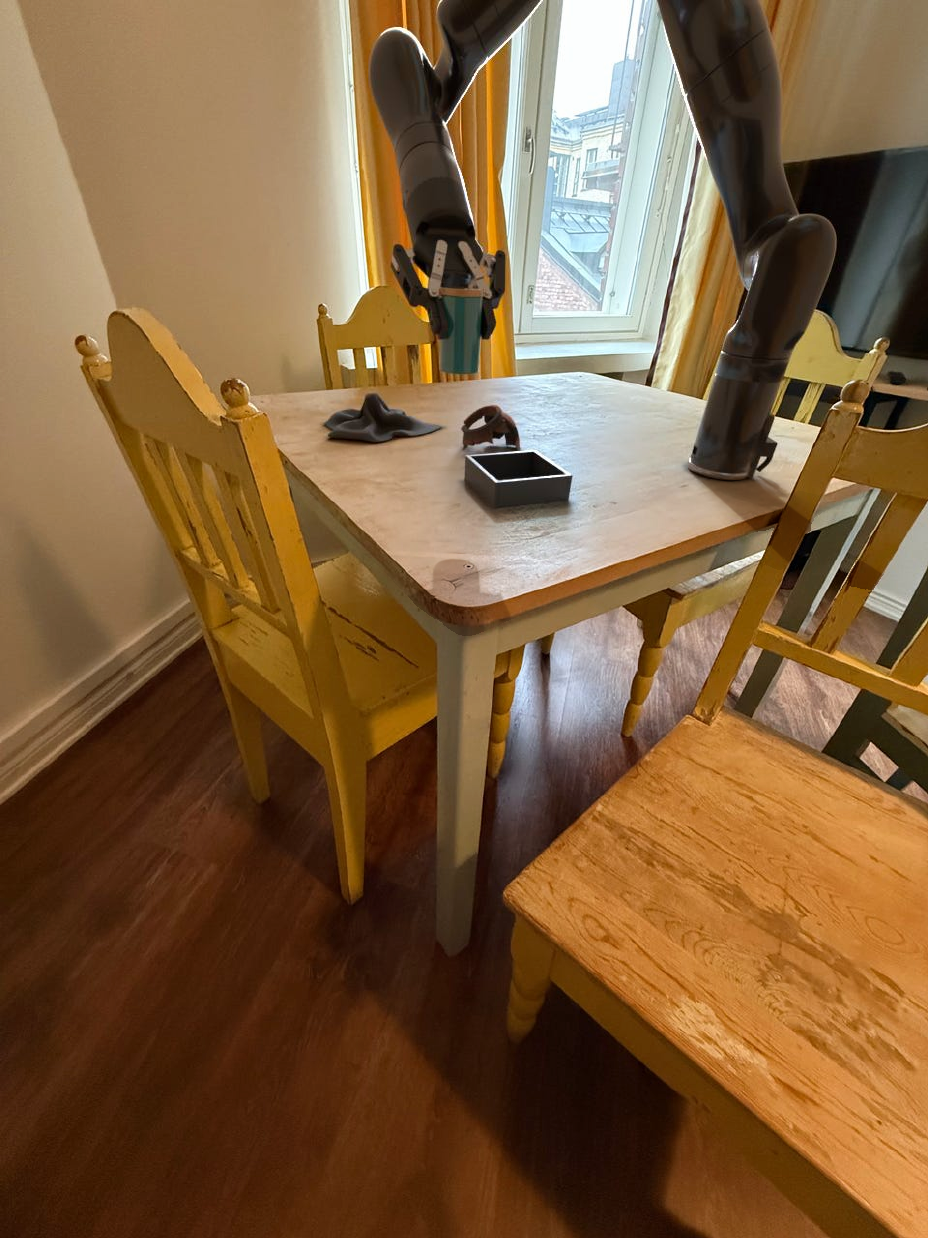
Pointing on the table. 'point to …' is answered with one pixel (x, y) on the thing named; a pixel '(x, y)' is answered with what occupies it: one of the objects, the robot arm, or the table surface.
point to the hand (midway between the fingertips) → (466, 334)
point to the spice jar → (461, 329)
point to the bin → (517, 478)
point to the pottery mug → (490, 427)
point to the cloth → (375, 422)
